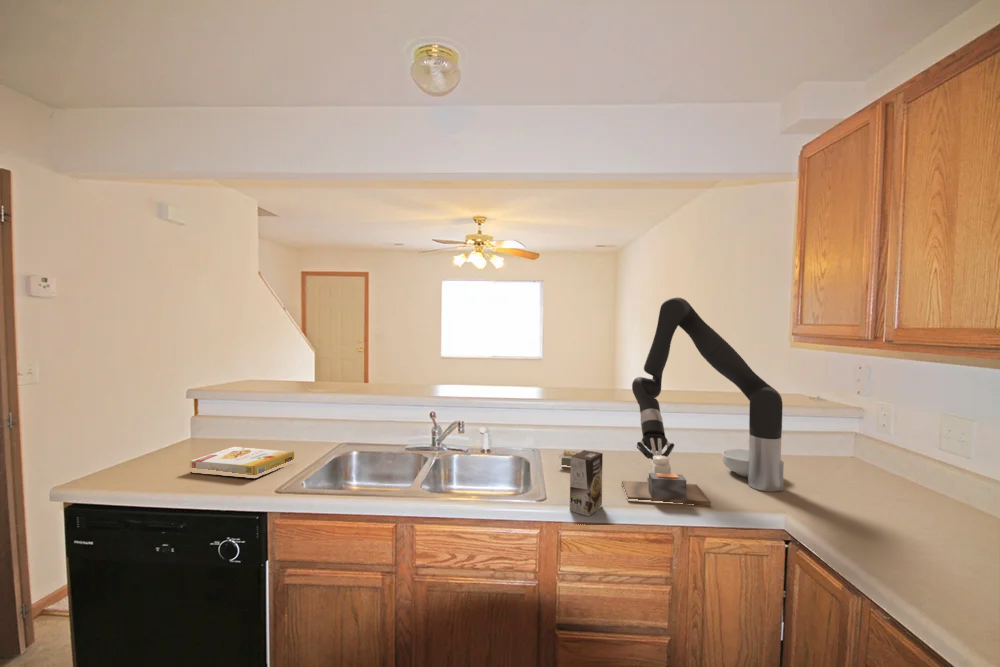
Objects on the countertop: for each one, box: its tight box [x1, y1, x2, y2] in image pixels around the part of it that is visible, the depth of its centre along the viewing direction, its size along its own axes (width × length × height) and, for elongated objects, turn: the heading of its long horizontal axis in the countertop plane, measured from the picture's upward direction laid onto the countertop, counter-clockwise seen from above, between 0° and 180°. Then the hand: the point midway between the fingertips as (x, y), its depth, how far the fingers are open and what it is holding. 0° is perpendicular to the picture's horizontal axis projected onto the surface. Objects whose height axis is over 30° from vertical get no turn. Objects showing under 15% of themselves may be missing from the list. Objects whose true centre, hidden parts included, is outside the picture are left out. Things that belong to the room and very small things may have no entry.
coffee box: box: [569, 449, 604, 517], centre depth 133 cm, size 9×6×16 cm
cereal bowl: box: [721, 448, 749, 478], centre depth 164 cm, size 17×17×7 cm
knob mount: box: [621, 472, 712, 507], centre depth 144 cm, size 24×14×8 cm, turn 83°
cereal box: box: [189, 446, 295, 475], centre depth 168 cm, size 20×6×28 cm
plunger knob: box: [650, 455, 672, 474], centre depth 148 cm, size 5×5×9 cm
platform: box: [558, 449, 579, 466], centre depth 170 cm, size 12×18×7 cm, turn 71°
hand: (658, 469), depth 151 cm, fingers closed
